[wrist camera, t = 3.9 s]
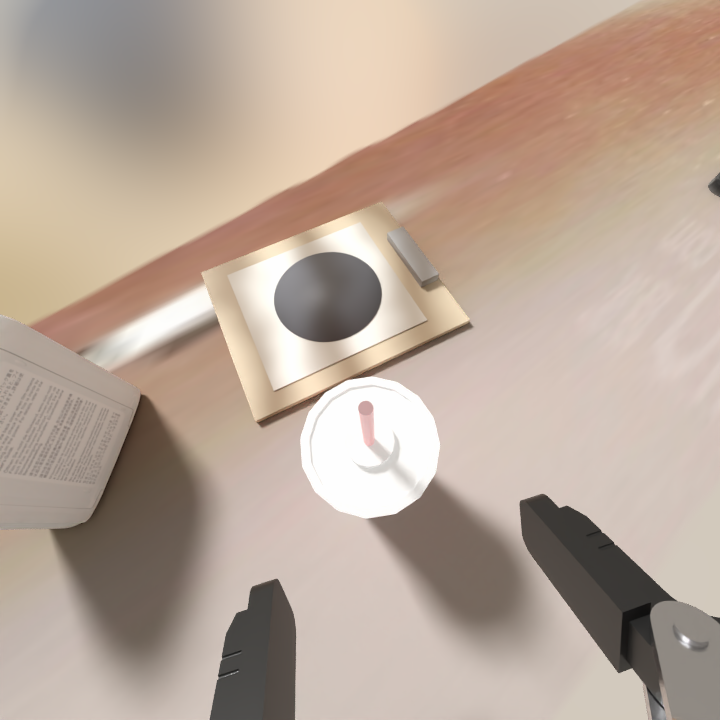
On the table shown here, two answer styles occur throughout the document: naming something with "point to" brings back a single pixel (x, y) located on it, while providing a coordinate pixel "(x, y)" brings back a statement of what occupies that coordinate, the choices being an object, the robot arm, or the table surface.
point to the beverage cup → (369, 447)
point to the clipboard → (327, 307)
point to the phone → (715, 185)
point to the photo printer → (55, 430)
